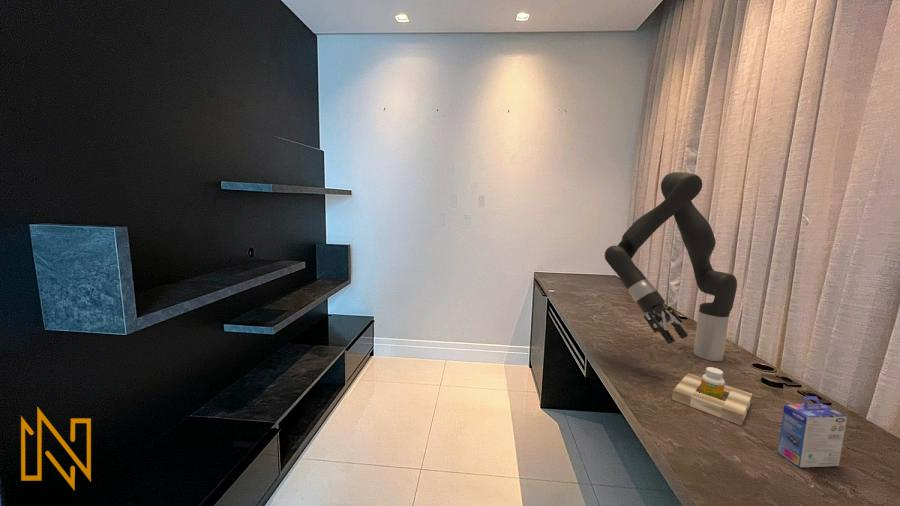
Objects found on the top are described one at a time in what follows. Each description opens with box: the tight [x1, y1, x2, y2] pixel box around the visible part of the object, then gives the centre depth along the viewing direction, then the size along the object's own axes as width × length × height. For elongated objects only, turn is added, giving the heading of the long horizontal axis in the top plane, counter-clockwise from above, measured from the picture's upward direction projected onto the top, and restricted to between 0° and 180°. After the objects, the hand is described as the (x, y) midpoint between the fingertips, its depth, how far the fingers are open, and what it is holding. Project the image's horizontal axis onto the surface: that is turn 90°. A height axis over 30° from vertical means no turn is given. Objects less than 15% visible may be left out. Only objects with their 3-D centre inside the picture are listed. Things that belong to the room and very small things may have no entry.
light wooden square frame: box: [671, 372, 753, 426], centre depth 101 cm, size 16×16×3 cm
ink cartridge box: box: [777, 395, 848, 468], centre depth 78 cm, size 10×6×14 cm, turn 95°
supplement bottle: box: [700, 366, 726, 401], centre depth 101 cm, size 5×5×10 cm
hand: (678, 339), depth 108 cm, fingers open, 8 cm apart
